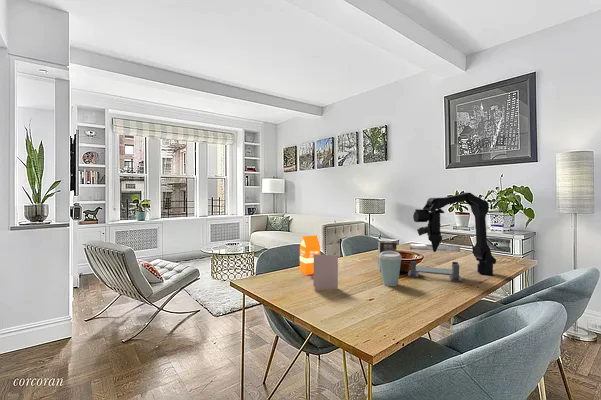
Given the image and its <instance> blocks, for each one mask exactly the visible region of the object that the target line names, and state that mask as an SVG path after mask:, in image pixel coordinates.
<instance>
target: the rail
mask: <svg viewBox="0 0 601 400" xmlns="http://www.w3.org/2000/svg"><path fill="white" fill-rule="evenodd" d="M409 249H410V250H417V251H418V250H419V251H433V247H432V244H426V243H409ZM437 251H438V252H456V253H460V252H461V246H460V245H451V244H449V245H447V244H445V245H444V244H439V246H438V248H437V250H436V252H437Z"/></svg>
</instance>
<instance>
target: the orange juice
mask: <svg viewBox="0 0 601 400" xmlns="http://www.w3.org/2000/svg"><path fill="white" fill-rule="evenodd" d="M299 244H300V245H299V272H300V271H301V272H300V273H302V274H304V275H314V274H313V273H314V254H317V255H321V245H320V241H319V238H318V235H314V234H313V235H304V236H303V235H302V238H301V241H300V243H299Z"/></svg>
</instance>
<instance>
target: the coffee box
mask: <svg viewBox="0 0 601 400" xmlns="http://www.w3.org/2000/svg"><path fill="white" fill-rule="evenodd" d="M377 243H378V246H377V248H378V249H377V251H378V252H377V269H378V271H379V272H381V267H380V261H379V258H378V257H379V255H380V253H381V252H384V251H393V252H397V243H398V242H395V240H394V241H392V240H390V241H389V240H378V242H377Z"/></svg>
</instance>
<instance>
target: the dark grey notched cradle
mask: <svg viewBox="0 0 601 400" xmlns="http://www.w3.org/2000/svg"><path fill="white" fill-rule="evenodd" d="M451 262H452V265H451V267H452V268H451V269H452V275H448V276H449V279H450V282H459V283H462V282H463V279H462V277H461V275H460V264H459V262H458V261H451ZM410 266H411V271H410V270H409V271H410V272H409V271H408V273H407V277H408V278H415V279H419V272H416V266H417V260H416V261H411V260H410Z"/></svg>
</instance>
